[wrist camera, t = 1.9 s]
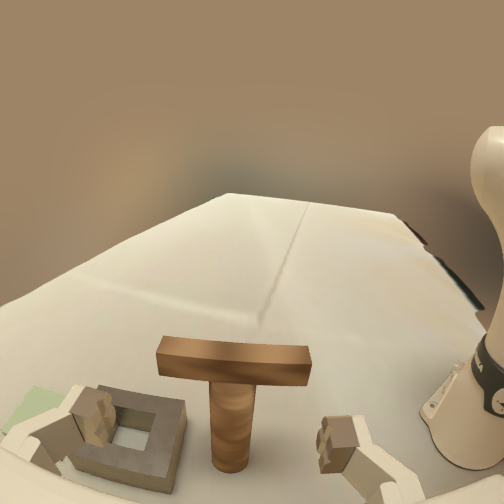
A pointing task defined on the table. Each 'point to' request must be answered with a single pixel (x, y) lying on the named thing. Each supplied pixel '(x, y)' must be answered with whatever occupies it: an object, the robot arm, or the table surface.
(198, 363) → the chuck key
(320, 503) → the table surface
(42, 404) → the key mat
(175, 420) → the block
